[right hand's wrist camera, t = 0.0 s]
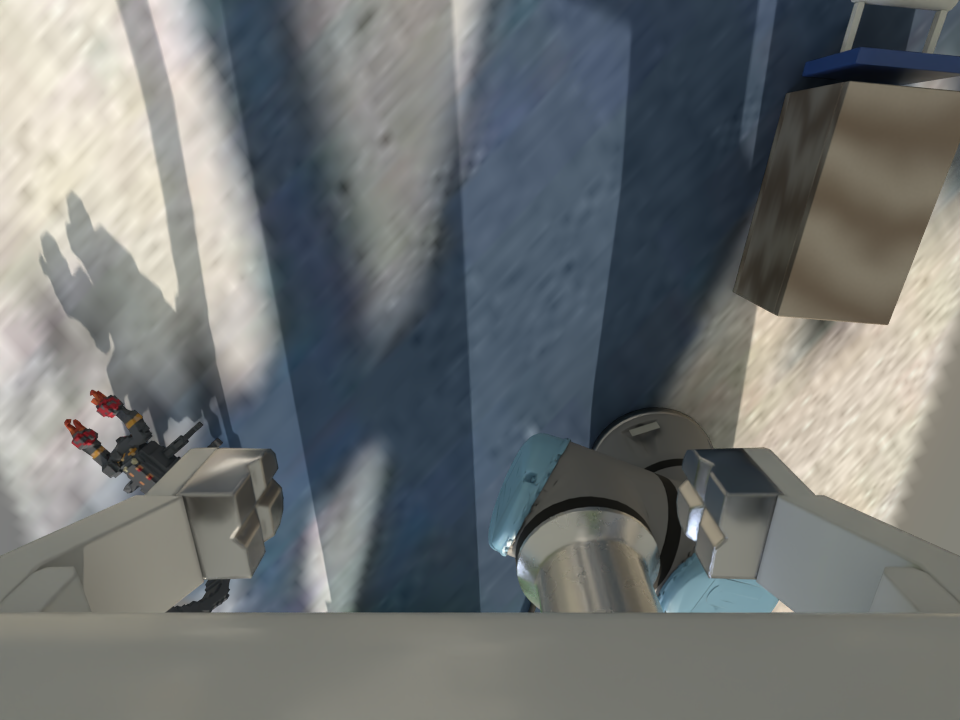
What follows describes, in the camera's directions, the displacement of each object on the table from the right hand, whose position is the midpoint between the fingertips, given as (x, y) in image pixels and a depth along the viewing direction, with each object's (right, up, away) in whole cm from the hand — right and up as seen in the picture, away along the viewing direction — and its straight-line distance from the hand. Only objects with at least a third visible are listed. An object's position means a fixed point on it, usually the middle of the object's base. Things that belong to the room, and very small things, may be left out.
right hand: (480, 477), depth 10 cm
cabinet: (+34, +19, +44) cm, 59 cm away
